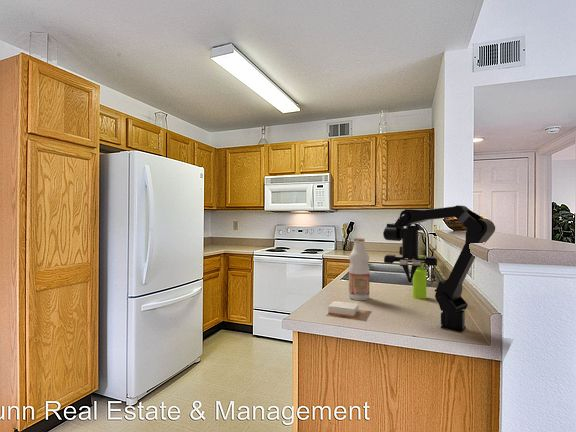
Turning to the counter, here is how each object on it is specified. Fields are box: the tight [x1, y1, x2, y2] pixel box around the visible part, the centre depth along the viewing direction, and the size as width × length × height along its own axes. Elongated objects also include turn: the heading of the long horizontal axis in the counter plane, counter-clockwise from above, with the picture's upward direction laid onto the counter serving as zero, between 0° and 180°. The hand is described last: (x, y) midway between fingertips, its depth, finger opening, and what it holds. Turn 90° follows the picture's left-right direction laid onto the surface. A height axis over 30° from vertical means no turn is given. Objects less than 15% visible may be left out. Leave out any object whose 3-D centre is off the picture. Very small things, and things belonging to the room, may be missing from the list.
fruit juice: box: [348, 237, 370, 301], centre depth 148 cm, size 9×9×28 cm
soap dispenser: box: [412, 254, 427, 300], centre depth 149 cm, size 6×7×20 cm
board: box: [325, 309, 372, 322], centre depth 122 cm, size 15×13×1 cm
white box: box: [327, 300, 359, 317], centre depth 123 cm, size 3×8×10 cm
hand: (410, 282), depth 121 cm, fingers closed
